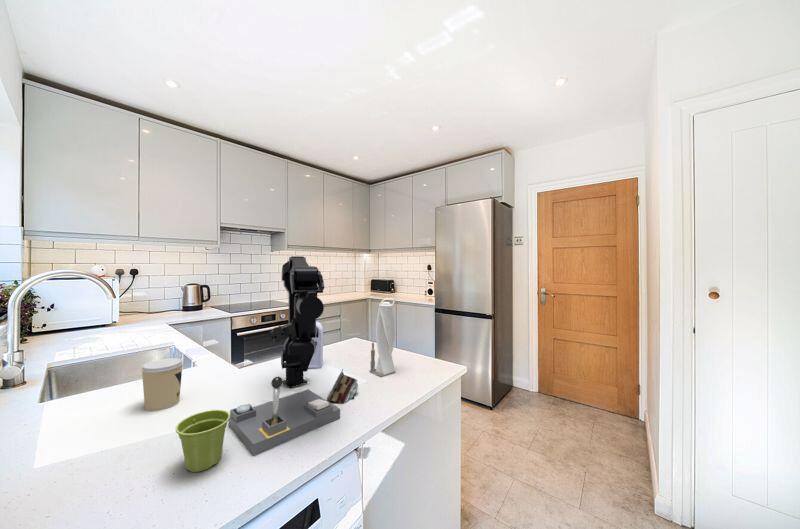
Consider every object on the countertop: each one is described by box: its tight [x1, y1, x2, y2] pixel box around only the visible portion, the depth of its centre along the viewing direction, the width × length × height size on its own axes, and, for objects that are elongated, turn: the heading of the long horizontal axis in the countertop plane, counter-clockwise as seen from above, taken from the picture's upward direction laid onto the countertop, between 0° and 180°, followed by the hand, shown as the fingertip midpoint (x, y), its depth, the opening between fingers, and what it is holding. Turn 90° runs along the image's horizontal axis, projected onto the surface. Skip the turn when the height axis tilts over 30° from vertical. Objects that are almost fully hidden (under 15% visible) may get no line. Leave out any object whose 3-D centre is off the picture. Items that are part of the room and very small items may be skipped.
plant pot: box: [175, 409, 230, 473], centre depth 61 cm, size 9×9×9 cm
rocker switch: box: [308, 399, 329, 410], centre depth 79 cm, size 5×3×1 cm, turn 46°
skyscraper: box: [368, 297, 397, 378], centre depth 113 cm, size 8×8×28 cm
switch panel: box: [227, 388, 341, 456], centre depth 77 cm, size 17×22×4 cm
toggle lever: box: [270, 376, 284, 426], centre depth 71 cm, size 3×3×11 cm
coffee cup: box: [140, 357, 184, 412], centre depth 86 cm, size 9×9×12 cm
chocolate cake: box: [326, 368, 359, 405], centre depth 93 cm, size 10×7×12 cm
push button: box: [236, 403, 251, 415], centre depth 75 cm, size 3×3×1 cm
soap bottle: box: [307, 320, 324, 370], centre depth 118 cm, size 9×7×23 cm
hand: (304, 371), depth 81 cm, fingers closed
